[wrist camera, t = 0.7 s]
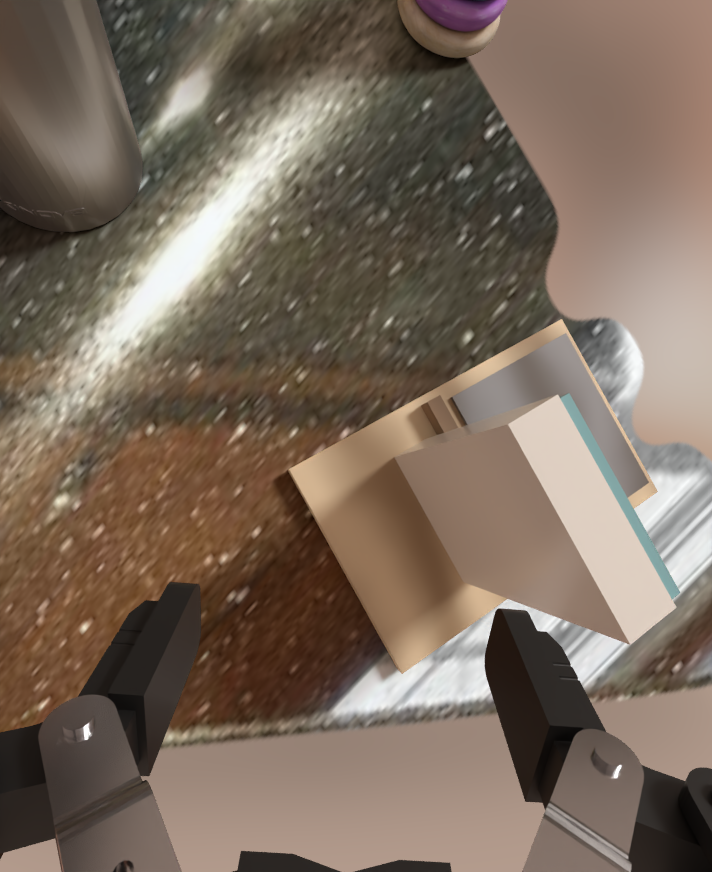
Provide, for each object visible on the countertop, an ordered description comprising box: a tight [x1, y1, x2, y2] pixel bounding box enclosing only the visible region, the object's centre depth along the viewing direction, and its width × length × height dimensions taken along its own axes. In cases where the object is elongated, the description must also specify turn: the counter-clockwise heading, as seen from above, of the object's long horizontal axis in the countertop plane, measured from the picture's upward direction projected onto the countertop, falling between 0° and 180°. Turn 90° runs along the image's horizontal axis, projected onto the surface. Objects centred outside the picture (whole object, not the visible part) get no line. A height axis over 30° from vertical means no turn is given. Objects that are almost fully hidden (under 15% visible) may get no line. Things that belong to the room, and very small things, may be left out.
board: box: [288, 319, 658, 674], centre depth 32 cm, size 22×14×2 cm, turn 120°
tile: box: [394, 393, 680, 644], centre depth 25 cm, size 3×9×14 cm, turn 30°
